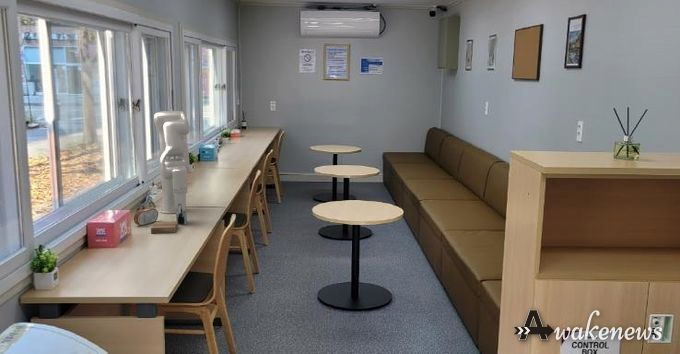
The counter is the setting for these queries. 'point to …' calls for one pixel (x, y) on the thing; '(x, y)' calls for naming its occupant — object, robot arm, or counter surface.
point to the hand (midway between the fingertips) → (181, 222)
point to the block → (183, 216)
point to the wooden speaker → (146, 216)
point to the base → (164, 227)
